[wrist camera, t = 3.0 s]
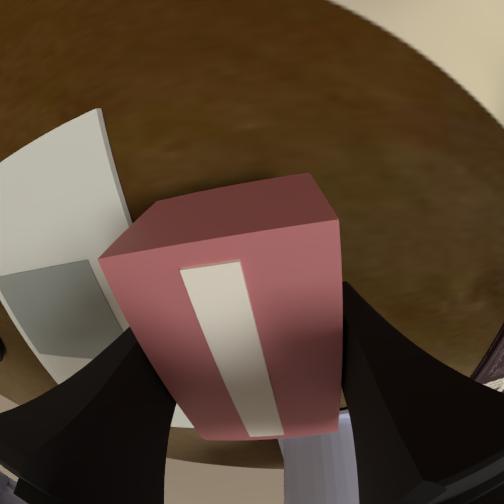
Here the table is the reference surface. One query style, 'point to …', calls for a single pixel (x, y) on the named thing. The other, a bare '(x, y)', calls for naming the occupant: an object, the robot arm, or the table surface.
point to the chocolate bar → (492, 365)
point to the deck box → (239, 305)
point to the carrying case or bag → (1, 351)
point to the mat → (63, 245)
